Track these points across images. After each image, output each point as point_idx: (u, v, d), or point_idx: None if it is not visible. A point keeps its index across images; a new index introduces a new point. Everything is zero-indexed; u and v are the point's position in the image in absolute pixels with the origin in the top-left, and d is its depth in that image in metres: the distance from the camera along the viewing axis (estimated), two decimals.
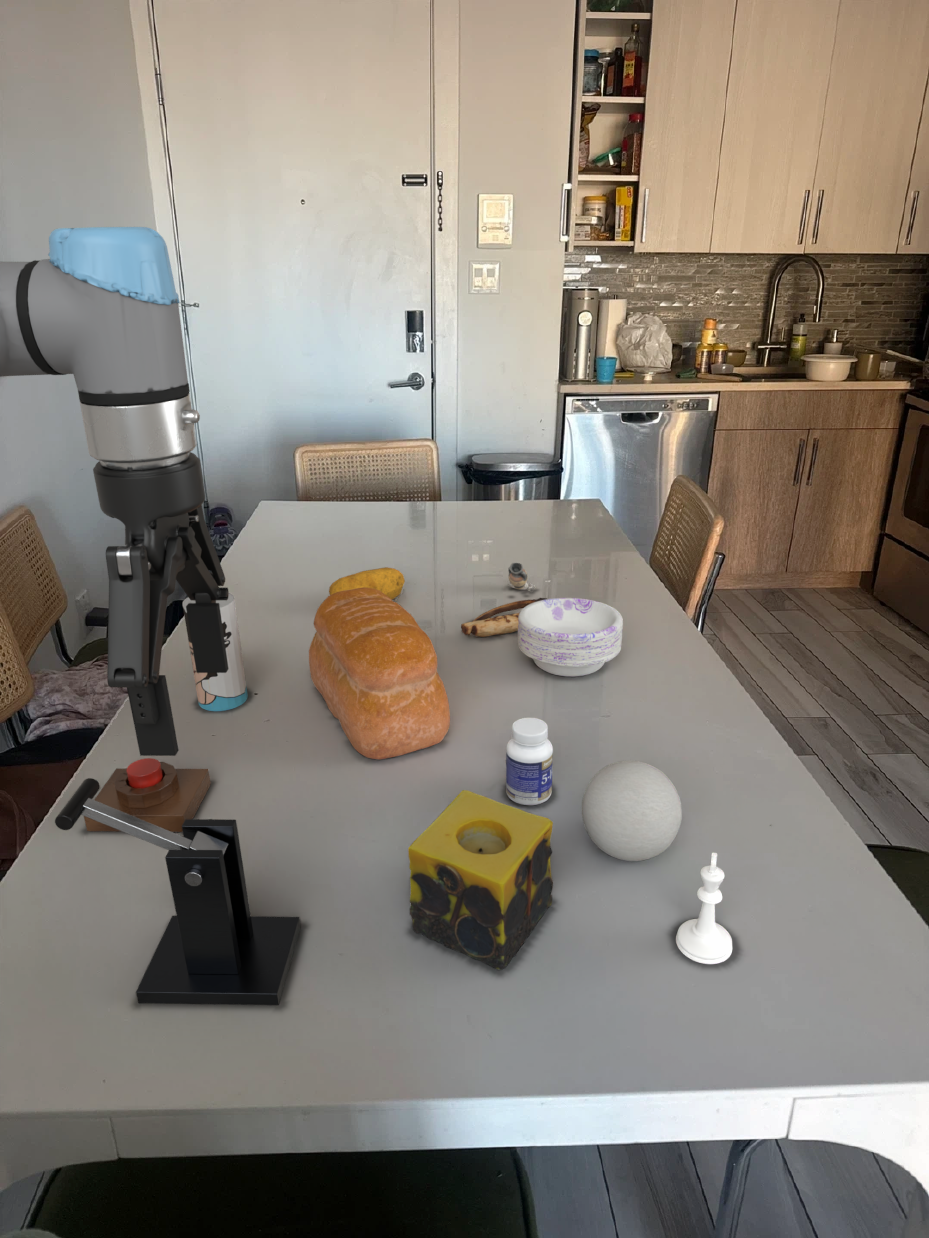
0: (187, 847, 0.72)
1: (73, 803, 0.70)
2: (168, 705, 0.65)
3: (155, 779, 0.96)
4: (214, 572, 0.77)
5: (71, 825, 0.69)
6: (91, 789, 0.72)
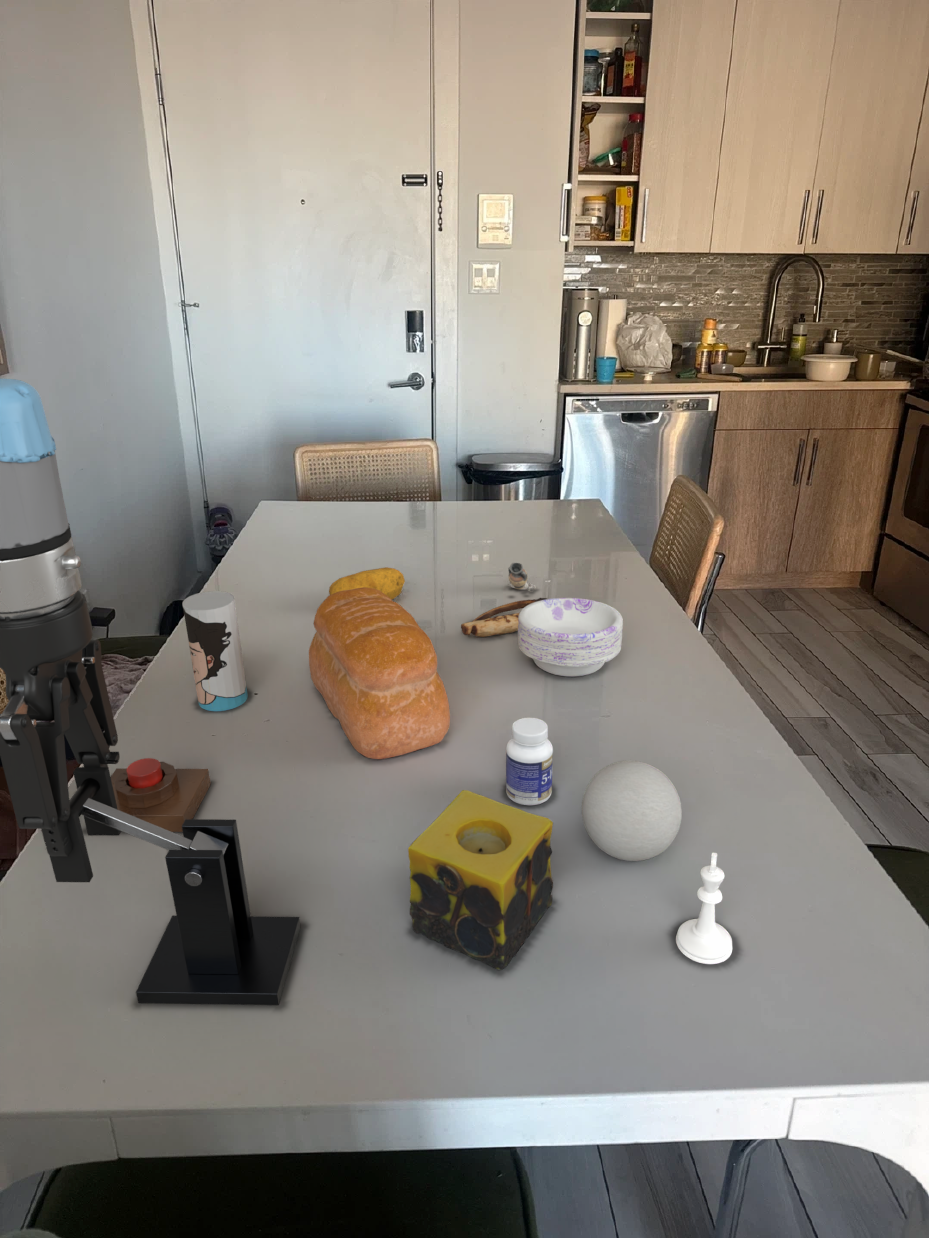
0: (187, 847, 0.72)
1: (73, 803, 0.70)
2: (81, 837, 0.69)
3: (155, 779, 0.96)
4: (105, 727, 0.74)
5: None
6: (91, 789, 0.72)
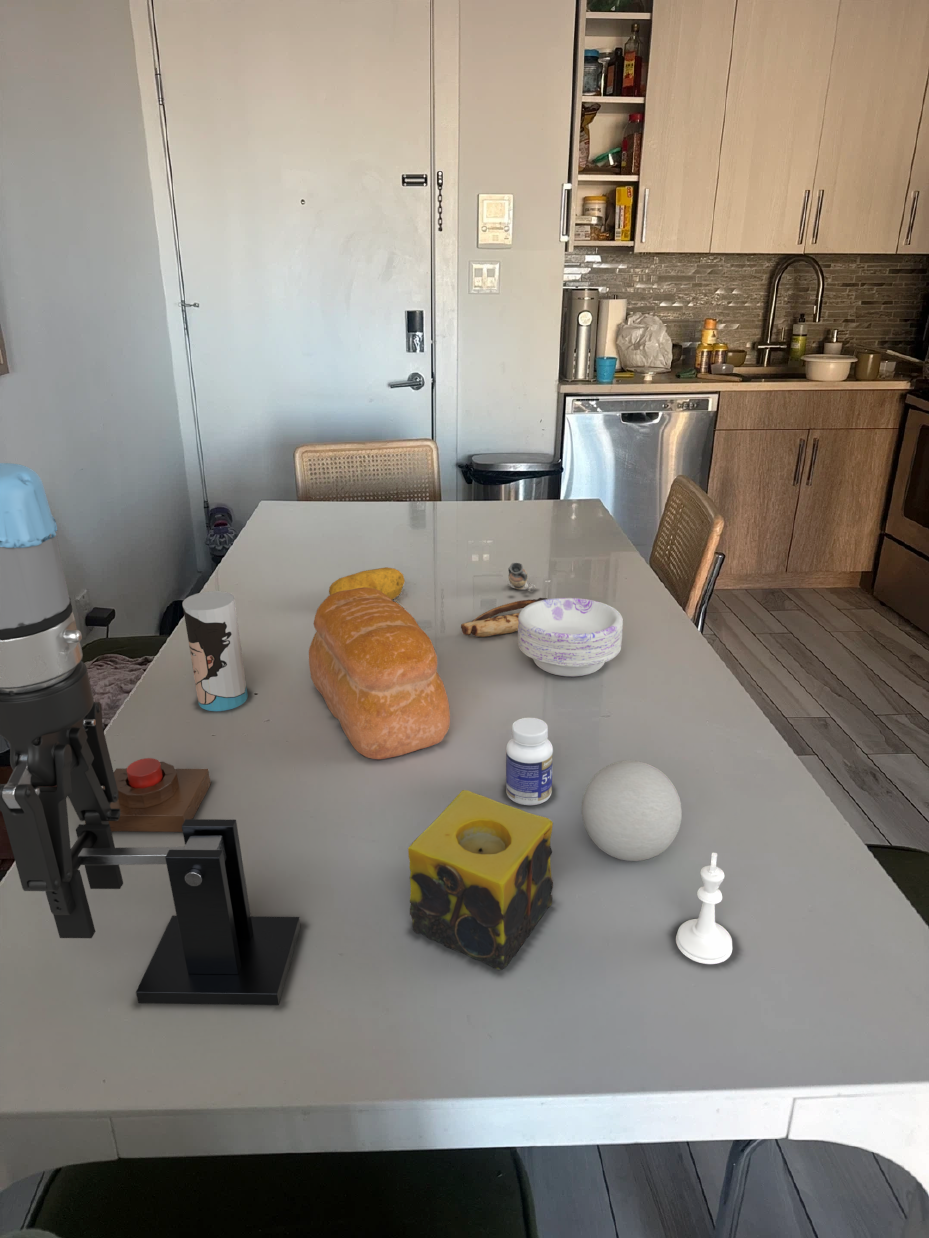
0: None
1: None
2: (83, 895, 0.71)
3: (155, 779, 0.96)
4: (106, 785, 0.76)
5: None
6: (85, 840, 0.74)
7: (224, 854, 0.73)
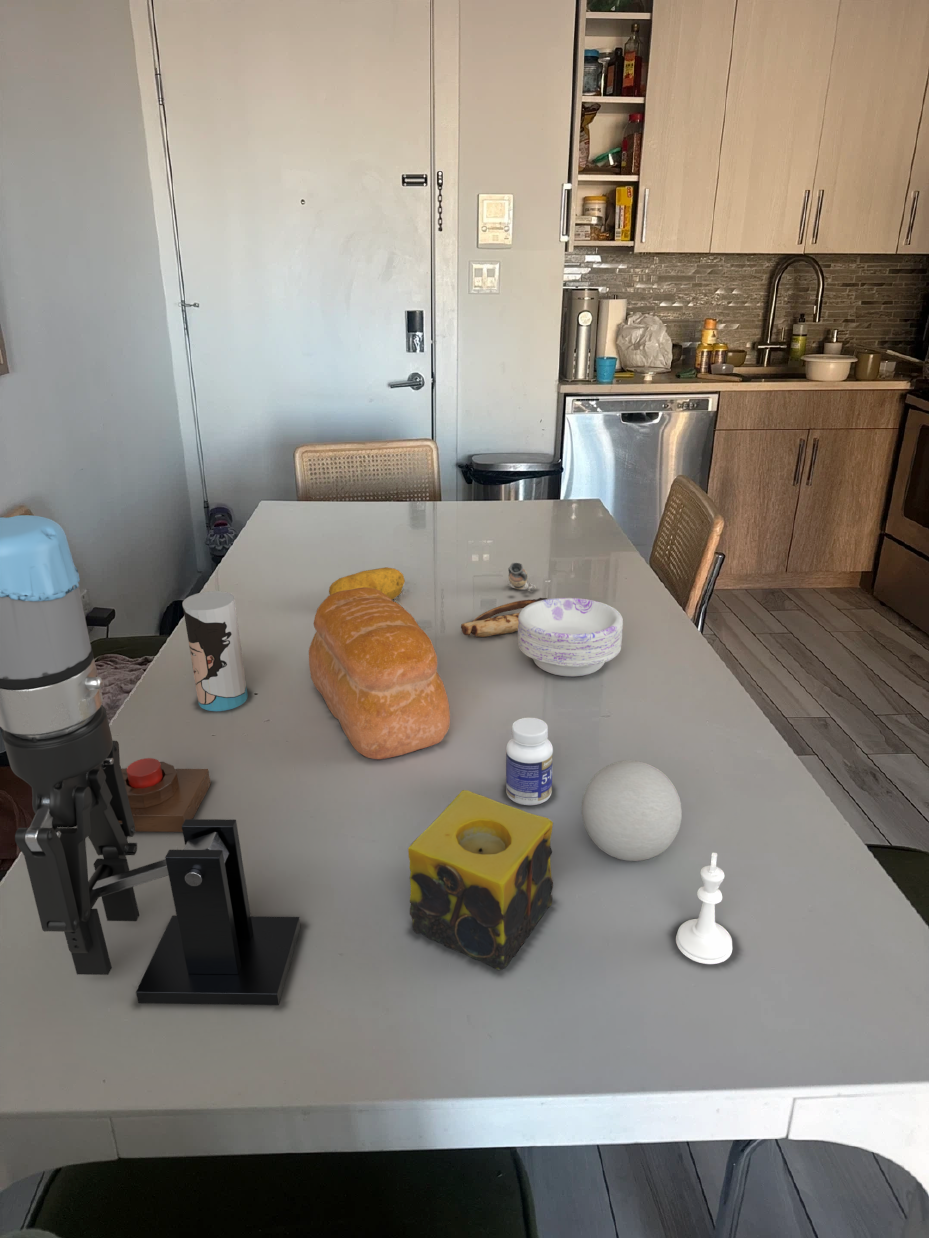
0: None
1: None
2: (100, 933, 0.72)
3: (155, 779, 0.96)
4: (123, 820, 0.78)
5: None
6: (99, 873, 0.76)
7: (224, 849, 0.73)
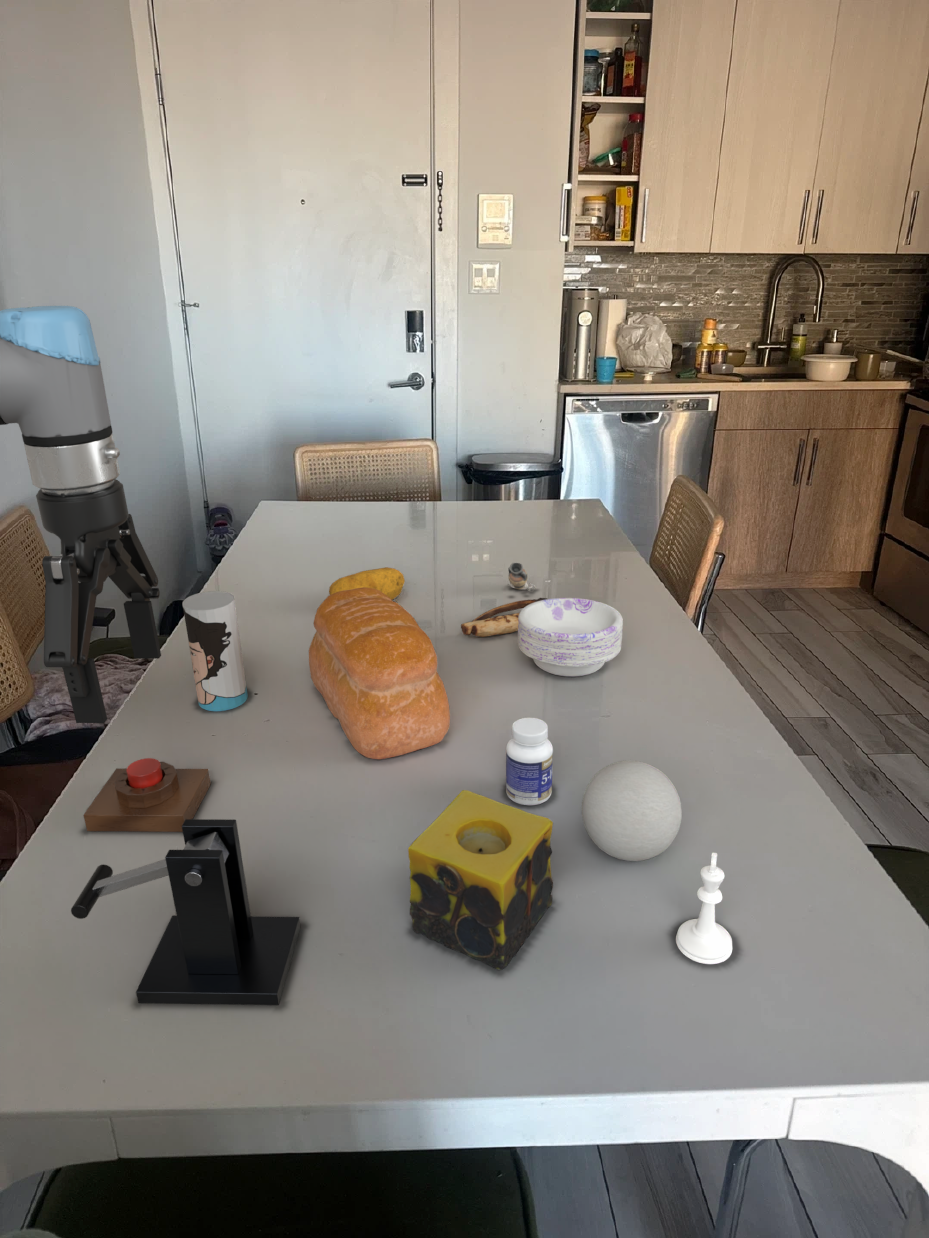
0: None
1: (82, 893, 0.74)
2: (96, 682, 0.81)
3: (155, 779, 0.96)
4: (147, 575, 0.93)
5: (85, 909, 0.72)
6: (99, 873, 0.76)
7: (224, 849, 0.73)
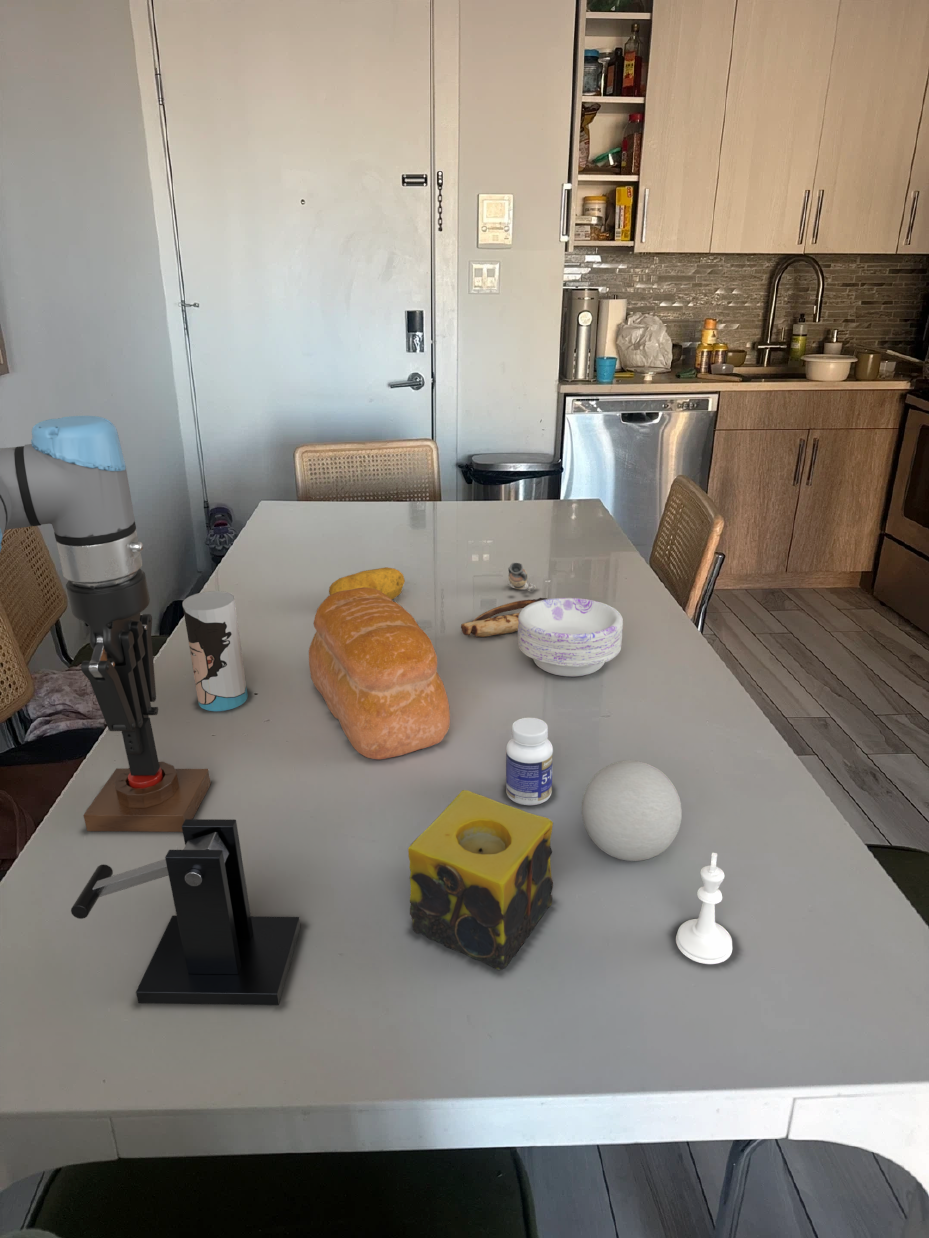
0: None
1: (82, 893, 0.74)
2: (149, 741, 0.95)
3: None
4: (148, 684, 0.96)
5: (85, 909, 0.72)
6: (99, 873, 0.76)
7: (224, 849, 0.73)
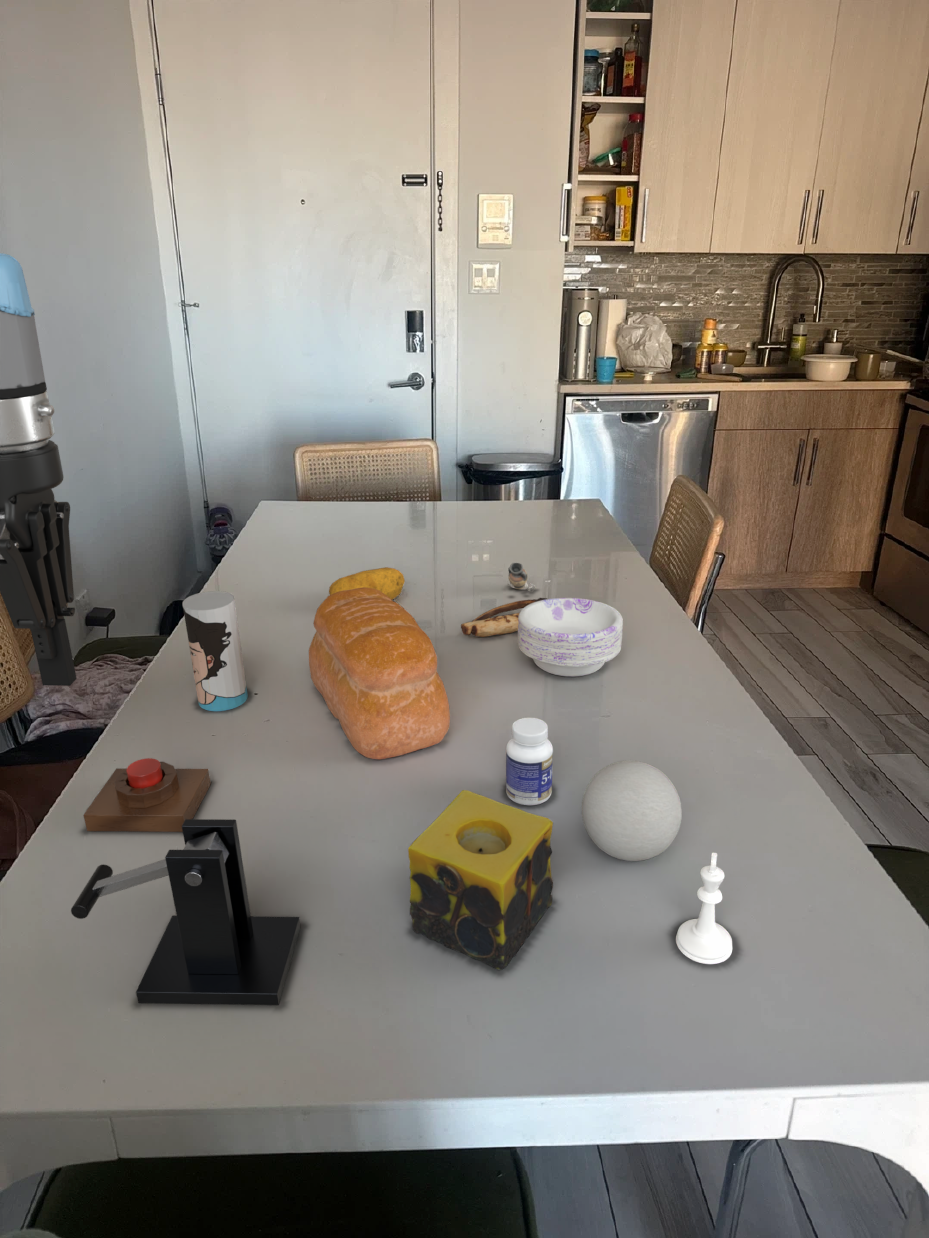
0: None
1: (82, 893, 0.74)
2: (64, 645, 0.84)
3: (155, 779, 0.96)
4: (64, 582, 0.85)
5: (85, 909, 0.72)
6: (99, 873, 0.76)
7: (224, 849, 0.73)
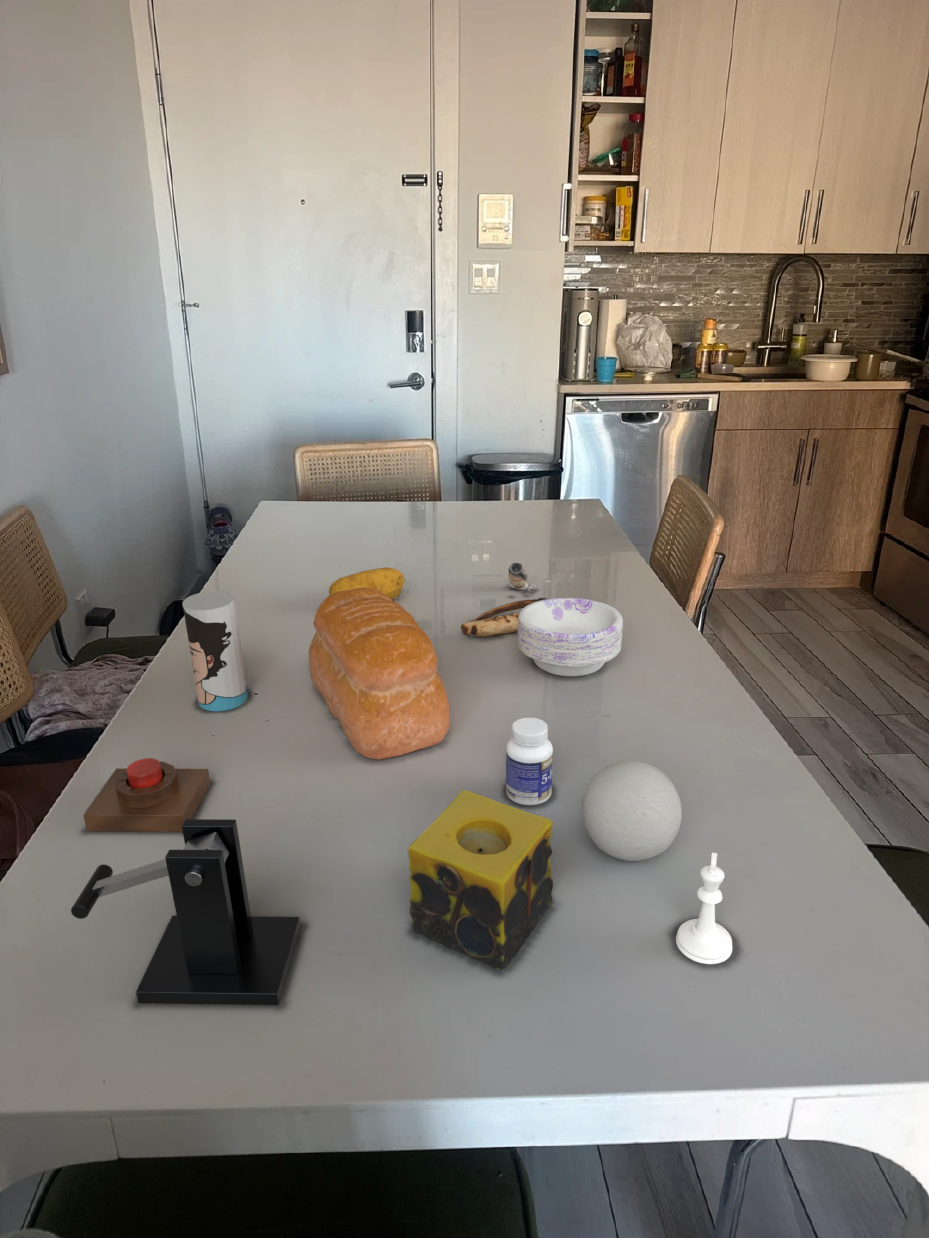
0: None
1: (82, 893, 0.74)
2: None
3: (155, 779, 0.96)
4: None
5: (85, 909, 0.72)
6: (99, 873, 0.76)
7: (224, 849, 0.73)
